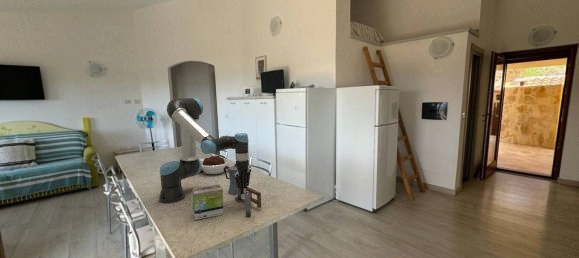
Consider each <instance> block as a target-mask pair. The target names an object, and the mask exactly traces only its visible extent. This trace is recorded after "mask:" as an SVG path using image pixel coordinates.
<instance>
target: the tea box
mask: <svg viewBox="0 0 579 258" xmlns="http://www.w3.org/2000/svg"><path fill="white" fill-rule="evenodd" d="M191 189H192V190H191V192H192V212H193V216H194V220H195V221H197V220H201V219H202V220H203V219H206V218H212V217H216V216H221V215H224V193H223V192H224V190H223V188H222V187H221V185H220V184H213V185H207V186H206V185H205V186H200V187H194V188H191Z"/></svg>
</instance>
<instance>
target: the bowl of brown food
mask: <svg viewBox="0 0 579 258" xmlns="http://www.w3.org/2000/svg"><path fill="white" fill-rule="evenodd" d="M200 163H201V165H202V167H201V170H202V171H203V173H204V174H207V175H219V174H222V173H225V172H224V168H225V166H230V160H229V159H227V158H223V157H221V156H220V155H215V156H214V155H211V156H209V157H205V158H204V159H203V160H202V161H201V162H200ZM225 170H226V171H227V168H226V169H225Z"/></svg>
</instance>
